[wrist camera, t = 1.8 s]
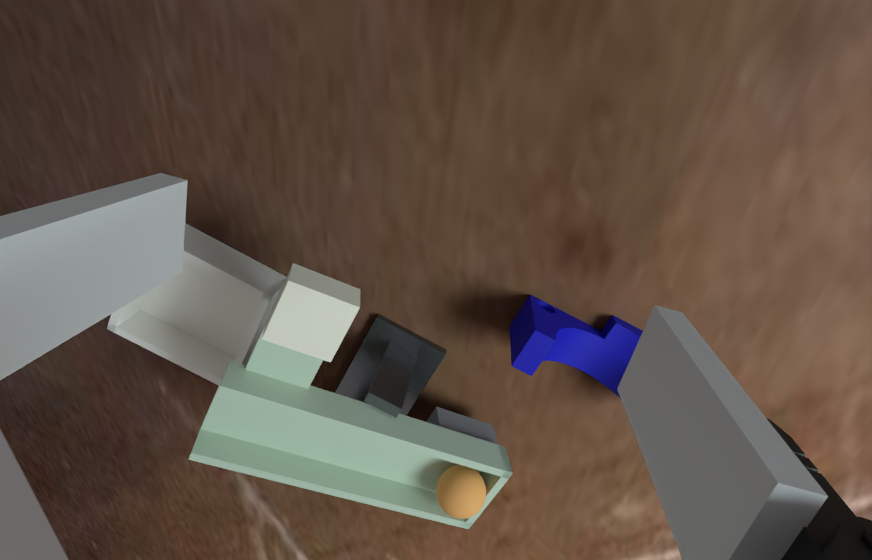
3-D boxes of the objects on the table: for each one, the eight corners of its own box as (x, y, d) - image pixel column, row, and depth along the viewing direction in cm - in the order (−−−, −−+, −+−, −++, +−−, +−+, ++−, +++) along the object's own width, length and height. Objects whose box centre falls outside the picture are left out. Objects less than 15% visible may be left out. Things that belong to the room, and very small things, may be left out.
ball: (422, 483, 38) (434, 527, 35) (445, 450, 36) (459, 493, 33) (462, 489, 39) (476, 532, 36) (486, 458, 38) (502, 499, 35)
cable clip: (681, 350, 38) (712, 396, 33) (645, 394, 40) (669, 445, 34) (540, 276, 38) (548, 311, 32) (509, 325, 39) (511, 365, 34)
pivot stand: (322, 414, 44) (289, 478, 37) (378, 313, 40) (352, 364, 33) (385, 446, 44) (363, 515, 37) (446, 350, 40) (435, 407, 33)
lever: (210, 401, 36) (188, 459, 32) (283, 232, 31) (269, 273, 26) (457, 472, 42) (468, 529, 38) (552, 342, 37) (578, 390, 33)
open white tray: (136, 309, 42) (106, 328, 39) (168, 214, 39) (137, 226, 36) (249, 367, 43) (229, 391, 40) (290, 278, 40) (271, 296, 36)
